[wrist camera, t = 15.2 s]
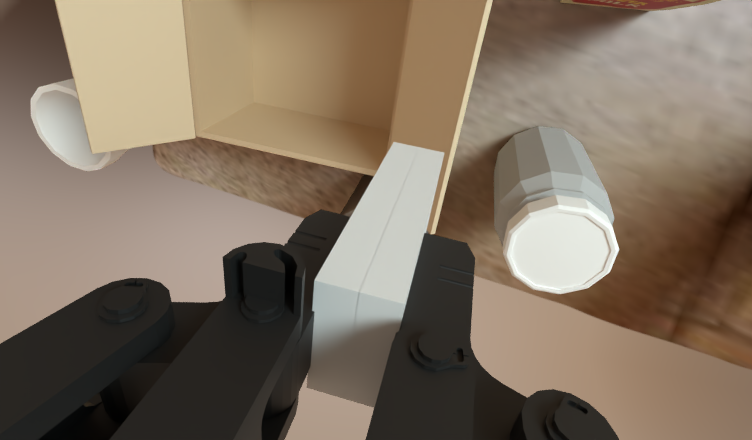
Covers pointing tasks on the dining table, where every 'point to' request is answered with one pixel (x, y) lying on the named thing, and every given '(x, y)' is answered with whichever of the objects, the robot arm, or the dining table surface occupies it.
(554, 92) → the dining table surface
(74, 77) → the back flap
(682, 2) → the milk carton
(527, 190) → the jar
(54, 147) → the foam cup
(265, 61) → the carton
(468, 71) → the front flap
